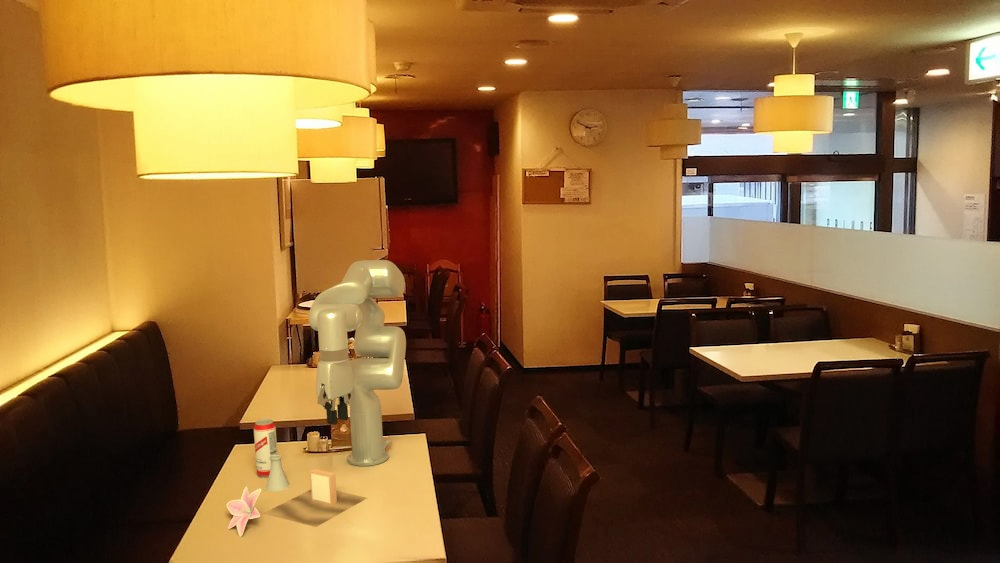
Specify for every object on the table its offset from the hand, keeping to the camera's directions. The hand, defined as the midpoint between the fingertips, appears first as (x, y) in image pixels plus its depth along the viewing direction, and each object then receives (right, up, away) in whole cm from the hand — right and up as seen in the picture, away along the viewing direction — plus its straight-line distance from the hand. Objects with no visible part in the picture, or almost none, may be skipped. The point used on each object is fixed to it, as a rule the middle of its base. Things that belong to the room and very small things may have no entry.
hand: (337, 421), depth 221 cm
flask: (-18, -21, +8) cm, 29 cm away
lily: (-20, -24, -15) cm, 35 cm away
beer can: (-25, -19, +21) cm, 38 cm away
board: (-4, -22, -6) cm, 23 cm away
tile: (-3, -21, -3) cm, 21 cm away
